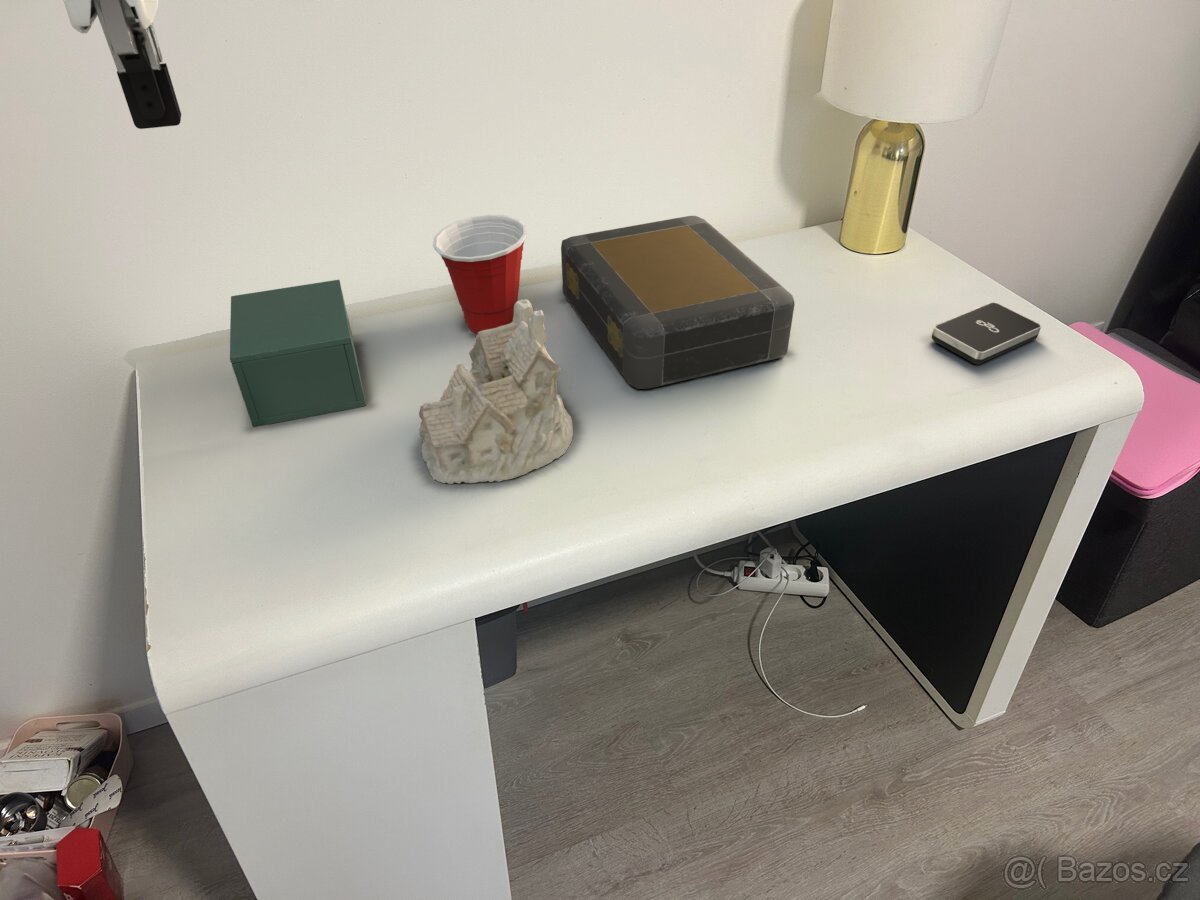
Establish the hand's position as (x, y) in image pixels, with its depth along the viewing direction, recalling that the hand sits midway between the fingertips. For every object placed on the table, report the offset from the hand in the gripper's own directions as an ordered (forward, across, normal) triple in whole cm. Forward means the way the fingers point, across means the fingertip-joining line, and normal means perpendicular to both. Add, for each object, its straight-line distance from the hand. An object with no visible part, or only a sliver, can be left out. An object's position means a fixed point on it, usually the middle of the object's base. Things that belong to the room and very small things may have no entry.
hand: (159, 123), depth 64 cm
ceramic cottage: (+32, +4, +23) cm, 40 cm away
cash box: (+32, -10, +48) cm, 58 cm away
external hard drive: (+32, +6, +81) cm, 87 cm away
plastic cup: (+32, -17, +27) cm, 45 cm away
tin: (+32, -12, +5) cm, 35 cm away
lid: (+24, -12, +5) cm, 28 cm away
